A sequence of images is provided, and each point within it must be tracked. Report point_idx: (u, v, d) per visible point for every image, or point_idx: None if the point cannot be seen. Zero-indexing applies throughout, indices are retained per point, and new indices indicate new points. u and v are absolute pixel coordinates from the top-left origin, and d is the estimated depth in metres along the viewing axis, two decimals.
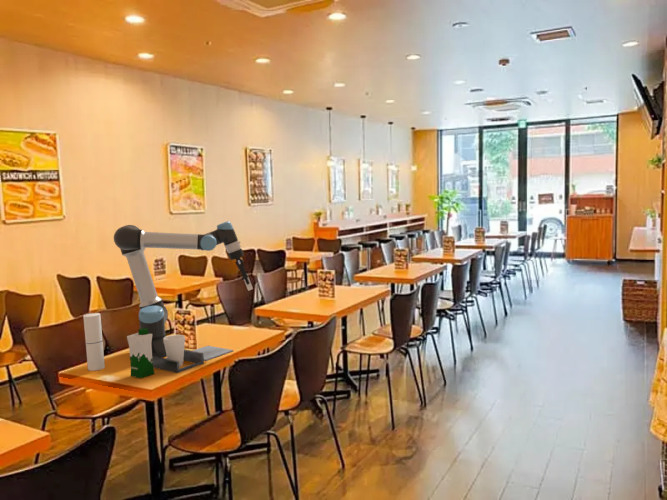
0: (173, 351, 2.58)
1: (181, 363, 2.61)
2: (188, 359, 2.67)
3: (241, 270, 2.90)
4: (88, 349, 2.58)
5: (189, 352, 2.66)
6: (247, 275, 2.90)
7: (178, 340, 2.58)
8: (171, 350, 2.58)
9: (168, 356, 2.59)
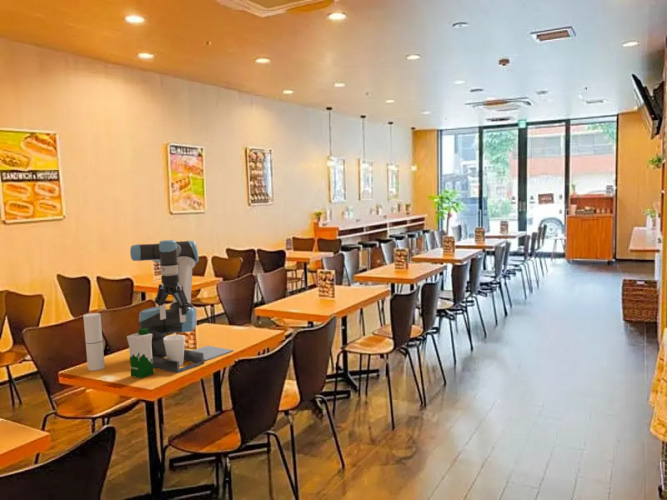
0: (173, 351, 2.58)
1: (181, 363, 2.61)
2: (188, 359, 2.67)
3: None
4: (88, 349, 2.58)
5: (189, 352, 2.66)
6: (155, 302, 2.64)
7: (178, 340, 2.58)
8: (171, 350, 2.58)
9: (168, 356, 2.59)
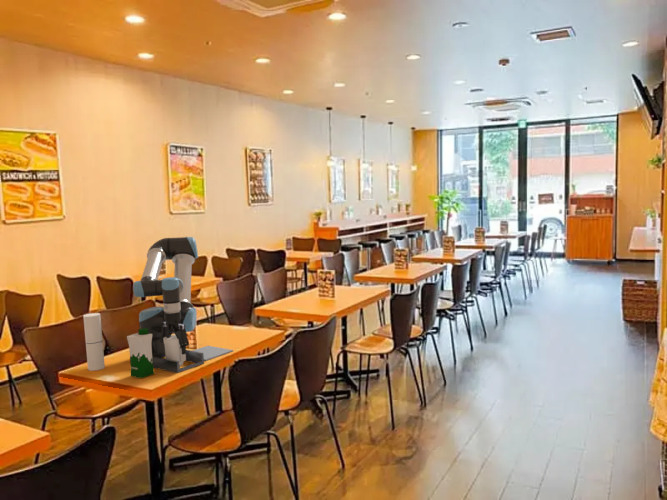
0: (173, 351, 2.58)
1: (181, 363, 2.61)
2: (188, 359, 2.67)
3: None
4: (88, 349, 2.58)
5: (189, 352, 2.66)
6: (160, 341, 2.65)
7: (178, 340, 2.58)
8: (171, 350, 2.58)
9: (168, 356, 2.59)
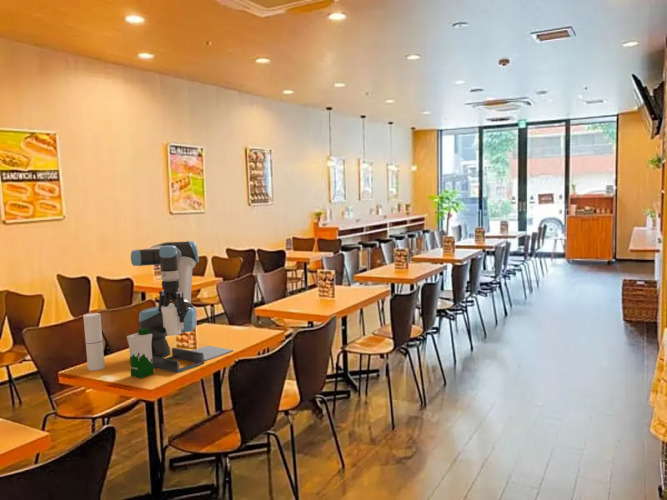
0: (170, 319, 2.57)
1: (179, 332, 2.60)
2: (188, 359, 2.67)
3: None
4: (88, 349, 2.58)
5: (189, 352, 2.66)
6: (158, 310, 2.64)
7: (176, 308, 2.56)
8: (169, 318, 2.56)
9: (166, 324, 2.58)
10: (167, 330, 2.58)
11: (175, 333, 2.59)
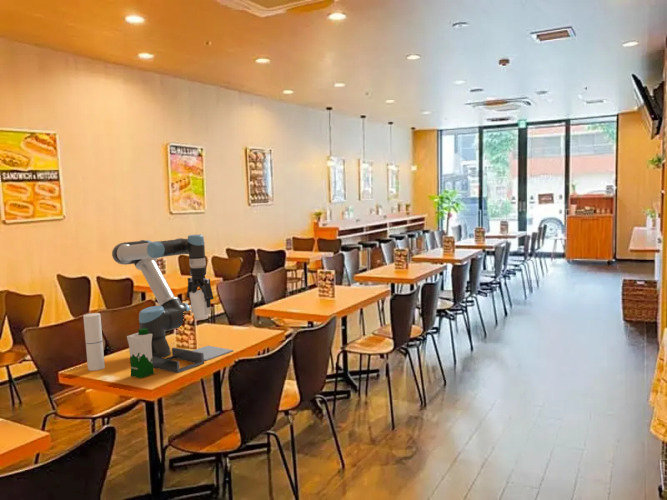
0: (198, 304, 2.70)
1: (206, 316, 2.74)
2: (188, 359, 2.67)
3: None
4: (88, 349, 2.58)
5: (189, 352, 2.66)
6: (187, 296, 2.78)
7: (203, 294, 2.70)
8: (196, 303, 2.70)
9: (194, 309, 2.72)
10: (195, 315, 2.72)
11: (202, 317, 2.72)
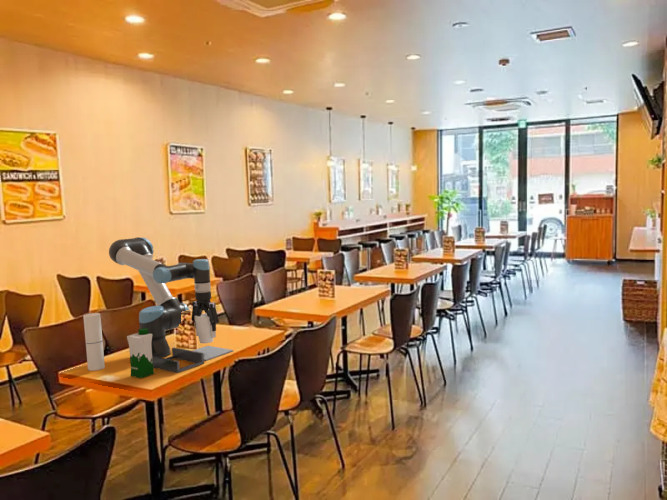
0: (204, 328, 2.74)
1: (211, 340, 2.78)
2: (188, 359, 2.67)
3: None
4: (88, 349, 2.58)
5: (189, 352, 2.66)
6: (191, 319, 2.81)
7: (208, 318, 2.74)
8: (202, 327, 2.74)
9: (199, 333, 2.76)
10: (200, 338, 2.76)
11: (208, 341, 2.76)
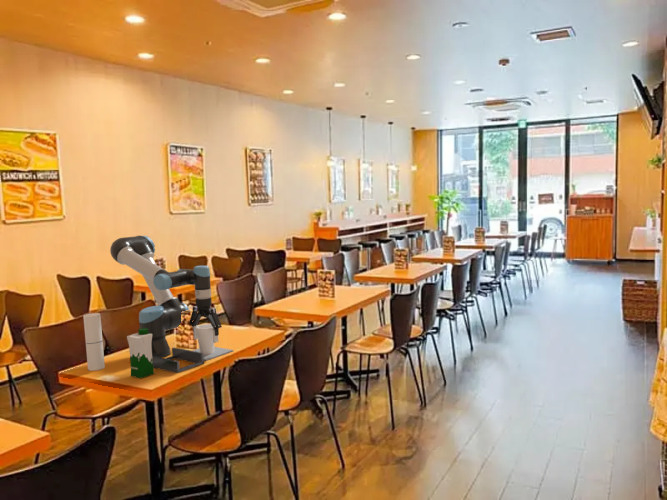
0: (204, 339, 2.75)
1: (212, 350, 2.78)
2: (188, 359, 2.67)
3: None
4: (88, 349, 2.58)
5: (189, 352, 2.66)
6: (189, 323, 2.83)
7: (209, 329, 2.74)
8: (203, 338, 2.75)
9: (200, 344, 2.76)
10: (201, 349, 2.76)
11: (208, 352, 2.77)
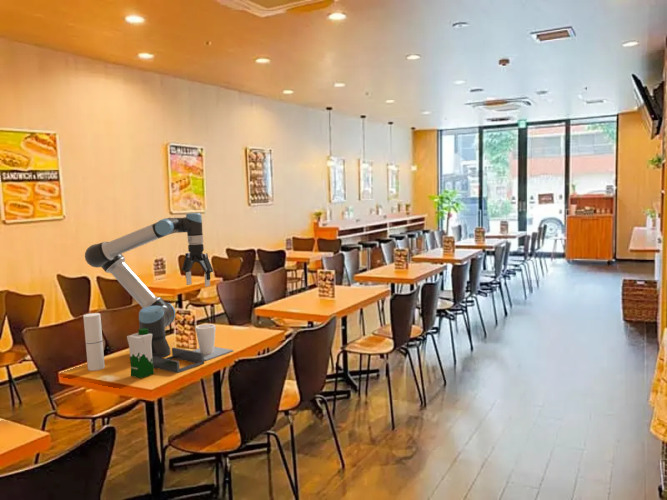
0: (204, 339, 2.75)
1: (212, 350, 2.78)
2: (188, 359, 2.67)
3: None
4: (88, 349, 2.58)
5: (189, 352, 2.66)
6: (182, 269, 2.93)
7: (209, 329, 2.74)
8: (203, 338, 2.75)
9: (200, 344, 2.76)
10: (201, 349, 2.76)
11: (208, 352, 2.77)
